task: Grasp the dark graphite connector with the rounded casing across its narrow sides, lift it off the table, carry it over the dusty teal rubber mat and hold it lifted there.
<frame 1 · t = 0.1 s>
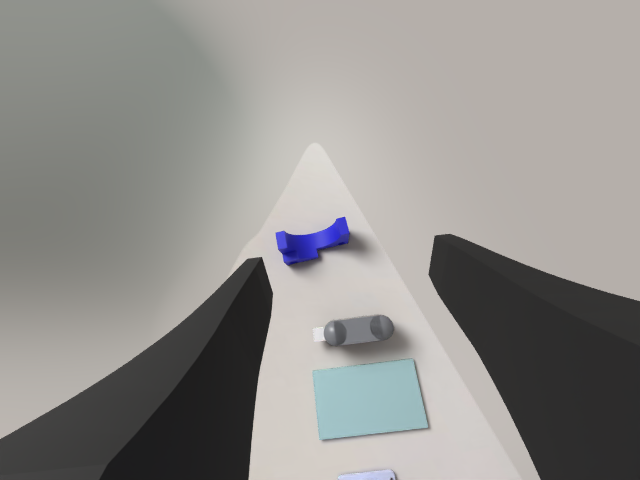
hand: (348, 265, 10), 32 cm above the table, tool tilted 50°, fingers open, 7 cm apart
rubber mat: (367, 396, 36), on the table
connector: (356, 328, 39), on the table
cable clip: (316, 247, 44), on the table
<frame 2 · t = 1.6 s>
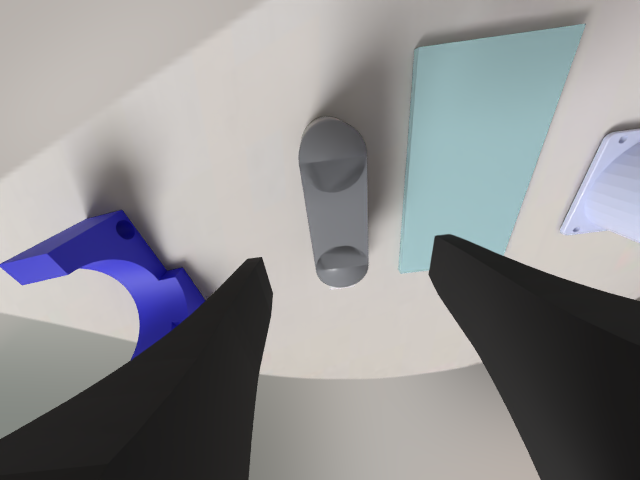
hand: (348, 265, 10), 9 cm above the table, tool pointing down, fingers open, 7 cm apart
rubber mat: (465, 177, 17), on the table
connector: (331, 194, 17), on the table
cable clip: (161, 269, 21), on the table
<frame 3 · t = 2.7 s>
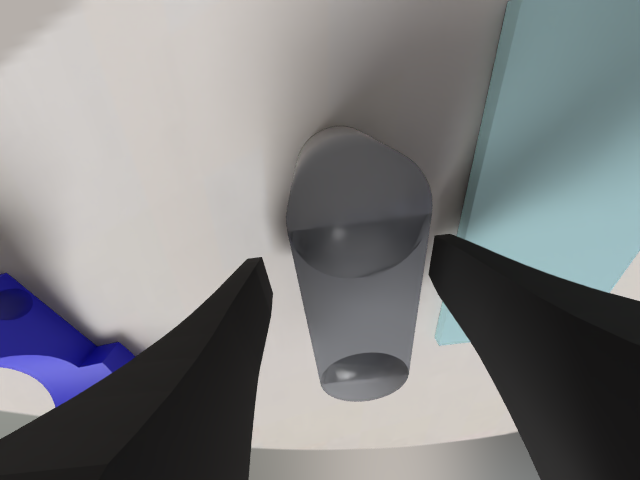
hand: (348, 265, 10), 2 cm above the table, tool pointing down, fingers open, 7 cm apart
rubber mat: (552, 220, 11), on the table
connector: (343, 245, 11), on the table
cable clip: (91, 343, 15), on the table
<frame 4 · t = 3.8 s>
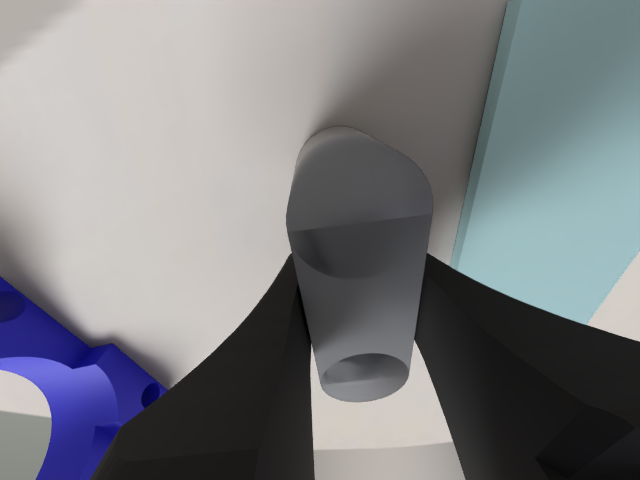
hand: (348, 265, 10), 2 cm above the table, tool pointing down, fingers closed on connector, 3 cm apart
rubber mat: (552, 219, 11), on the table
connector: (343, 245, 11), on the table, touching gripper
cable clip: (85, 344, 15), on the table
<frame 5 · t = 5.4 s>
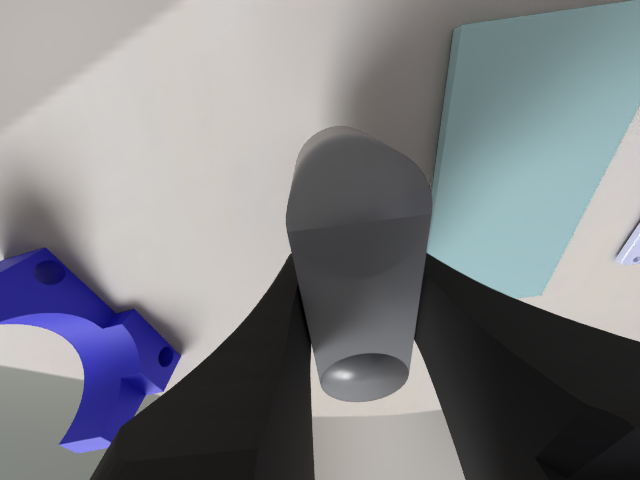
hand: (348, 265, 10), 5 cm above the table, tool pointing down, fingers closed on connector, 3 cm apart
rubber mat: (506, 198, 14), on the table
connector: (343, 245, 11), point 3 cm above the table, touching gripper
cable clip: (110, 311, 17), on the table
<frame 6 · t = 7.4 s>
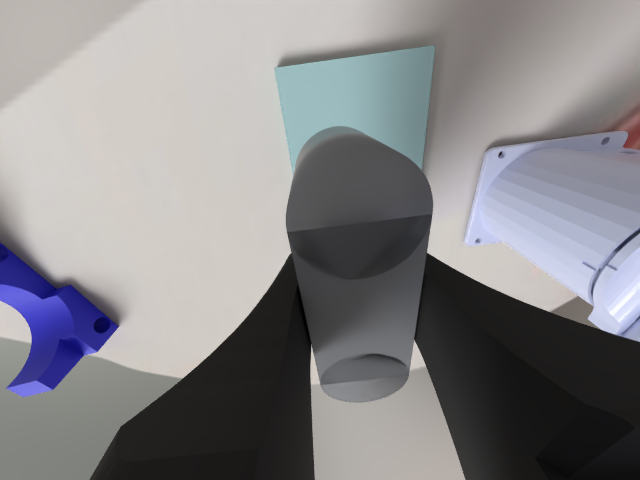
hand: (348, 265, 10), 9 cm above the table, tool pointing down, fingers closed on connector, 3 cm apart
rubber mat: (357, 191, 17), on the table
connector: (343, 245, 11), point 7 cm above the table, touching gripper
cable clip: (53, 288, 21), on the table
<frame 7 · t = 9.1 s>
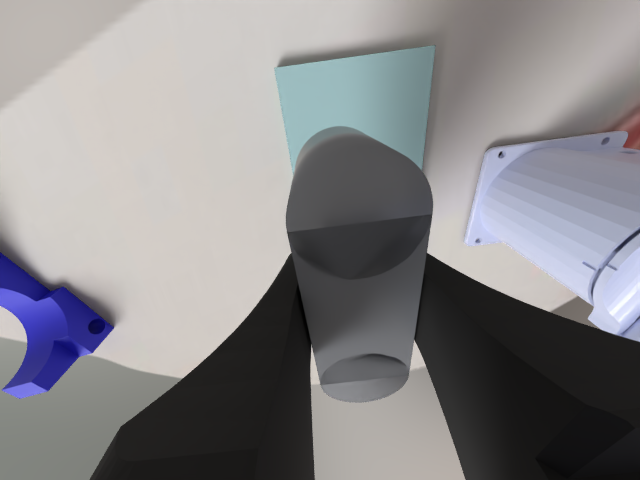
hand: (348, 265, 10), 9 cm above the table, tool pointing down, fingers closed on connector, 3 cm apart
rubber mat: (357, 191, 17), on the table
connector: (343, 245, 11), point 7 cm above the table, touching gripper
cable clip: (48, 290, 21), on the table
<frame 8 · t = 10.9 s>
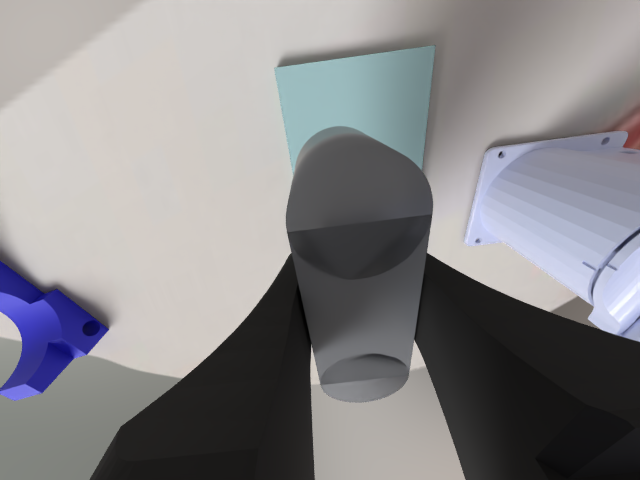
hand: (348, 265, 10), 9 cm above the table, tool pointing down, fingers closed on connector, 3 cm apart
rubber mat: (357, 191, 17), on the table
connector: (343, 245, 11), point 7 cm above the table, touching gripper
cable clip: (42, 292, 22), on the table
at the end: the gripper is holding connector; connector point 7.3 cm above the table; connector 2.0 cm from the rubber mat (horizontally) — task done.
